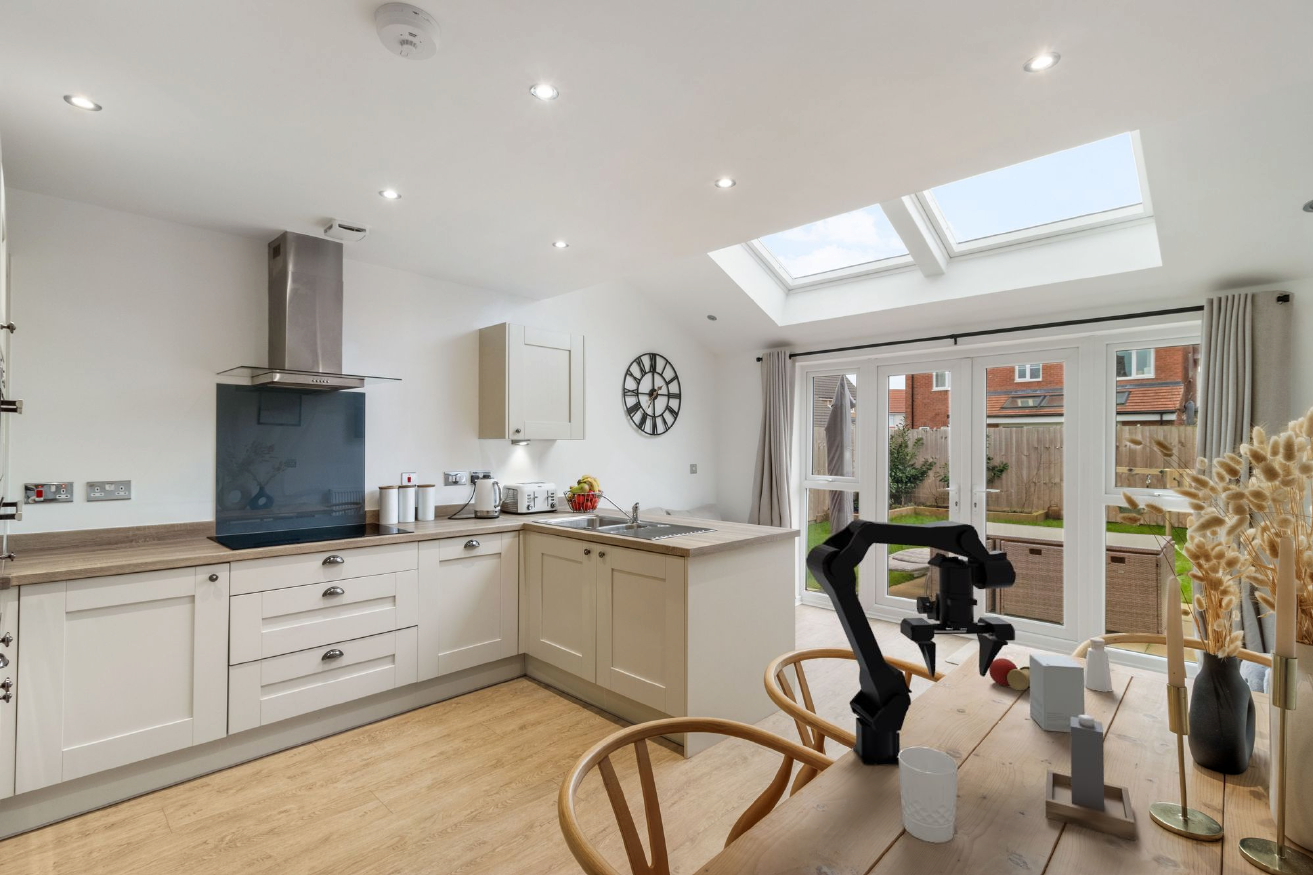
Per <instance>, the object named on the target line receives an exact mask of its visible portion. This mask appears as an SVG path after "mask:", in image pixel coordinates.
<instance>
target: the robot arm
mask: <svg viewBox="0 0 1313 875" xmlns="http://www.w3.org/2000/svg"><path fill="white" fill-rule="evenodd" d="M874 544H881V545H884V544H885V545H898V546H909V547H910V546H913V547H927V548H932V549H935V550H940V551H943V552H946V553H951V554H952V555H955V556H947V555H946V554H944V553H940V552H936V554H935V555H934V556H933V557H931V558H930V559H928V561H927V565H928V566H932V567H935V568H938V592H936V593H935V600H931V599H930V597H929V596H927V595H926V596H917V597H916V610H917V614H919V615H926V618H927V619H924V618H923V617H903V619H902V620H901V622H900V625H899V627H900V633H901V634H902V635H903V636H904V637H906V638H907V639H909V640H910V641H912V642H913V643H914V644H916V645H917V646H918V648H919V650H920V652H921V656H922V658H923V660H924V663H925V666H926V669H927V671H928V674H929V676H930V677H931V678H935V677H936V676H935V675H936V664H937V663H936V658H937V655H936V653H937V643H936V642H935V641H933V639H934V638H935V635H972V634H973V635H976V638H977V640H978V644H979V645H978V646H979V652H978V653H979V656H978V671H979V676H981V677H986V675H987V673H988V671H989V668H990V666H991V664H992V662H993V661H994V660H996V659H995V658H996V657H997V656H998V654H999V653H1000V651H1001V650H1002V648H1003V647H1004V646H1008V645H1009V642H1010V641H1013V642H1014V641H1016V629H1015V627H1014V626H1013V624H1012V623H1011V622H1008V621H1007V620H1005V619H1002V618H1000V617H998V616H987V617H986V616H985V617H983V616H982V617H981V616H980V617H979V618H978V619H977V622H976V621H975V613H974V612H975V611H974V610H975V609H974V608H975V606H978V599H976V598H975V597H974V588H976V589H978V590H991V589H992V590H995V589H1009V588H1012V586H1013V585H1014V584H1015V583H1016V578H1017V573H1016V571H1015V568H1014V566H1013V563H1012V562H1011V561H1010V560H1009V559H1008V553H1007V551H1003V550H992V551H989V550H987V548H986V546H985V545H984V543H983V542H982V541H981V540H980V536H979V532H978V530H977V529H976V528H975V526H973V525H971V524H968V523H963V522H957V521H953V520H935V521H930V522H927V523H920V524H916V523H915V524H913V523H901V522H888V521H885V522H884V521H871V520H865V519H860V518H856V519H854V520H852V521H850V522H849V523H848V524H847V525H846V526H845V527H844V528H842V529H841V530H839V531H837V532H835V533H833V534H832V535H830V536H828V538H826V539H825V540H824V541H823V542H822V543H821V544H817V545H815V546H814V547H813V548H811V549H810V550H809V552H808V554H807V556H806V559H805V561H806V566H807V569H808V570H809V572H810V574H811V575H812V577H813V578H814V580H815V581H816V583H817V584H818V585H819V587H821V589H822V590H823V591H824V592H825V593H826V595H827V596H828V597H829V599H830V601H831V603H832V606H833V608H834V610H835V613H836V615H837V617H838V619H839V622H840V624H841V627H842V629H843V632H844V634H845V636H846V638H847V641H848V643H849V645H850V648H851V650H852V652H853V654H854V657H855V660H856V662H857V664H858V667H859V675H858V681H859V686H860V690H858V692H857V693H856V694H855V695H854V697H852V699H851V700H850V701H849V702H848V703H849V706H850V709H851V712H852V713H853V714H854V715H855V716H857V717H855V744H853V745H852V749H853V750H854V752H855V753H856V755H857V756H858V758H859V759H860V761H861V762H862V764H863V765H865V766H881V765H882V766H885V765H887V766H888V765H891V766H893V765H894V766H896V765H897V766H899V759H898V754H899V752H900V751H901V750H900V748H901V743H900V740H901V739H900V732H901V731H902V729H903V725H904V722H905V719H906V716H907V712H908V711H909V708H910V706H911V705H912V699H911V696H910V694H912V693H913V692H912V690H911V689H910V688H909V686H908V683H907V681H906V677H905V675H904V672H903V671H902V670H900V669H899V668H897V667H896V666H894V665H892V664H891V663H889V662H888V661H886V660H885V658H884V656H883V652H882V651H881V648H880V646H879V643H878V641H877V638H876V637H875V634H874V632H873V630H872V627H871V624H870V623H869V620H868V618H867V615H866V613H865V611H864V609H863V606H862V604H861V601H860V599H859V597H858V594H857V579H858V578H857V574H856V569H855V568H856V567H857V566H858V565H860V564H861V563H862V561H863V560H864V558H865V557H866V555H867V553H868V550H869V549H870V547H872V545H874ZM963 557H964V558H967V560H964V559H963ZM927 620H933V621H935V622H937V623H935V622H934V623H930V622H929V621H927ZM938 622H939V623H938Z"/></svg>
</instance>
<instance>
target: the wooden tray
mask: <svg viewBox="0 0 1313 875" xmlns="http://www.w3.org/2000/svg"><path fill="white" fill-rule="evenodd" d="M1045 779H1046V782H1045V818H1049V819H1052V820H1056V821H1060V822H1062V823H1067V824H1071V825H1074V826H1079V827H1082V828H1085V829H1090V830H1093V831H1097V832H1101V833H1105V834H1108V835H1112V836H1115V837H1118V838H1119V837H1120V838H1123V839H1127V840H1130V841H1136V829H1135V828H1136V822H1135V818H1134V813H1133V807H1132V803H1131V797H1130V793H1129V787H1127V786H1122V785H1119V784H1114V783H1111V782H1110V783H1109V782H1106V781H1104V812H1101V811H1097V810H1093V809H1089V808H1085V807H1081V806H1077V805H1073V804H1072V795H1071V773H1067V772H1066V773H1065V772H1061V771H1057V770H1055V769H1054V770H1053V769H1049V768H1046V778H1045Z"/></svg>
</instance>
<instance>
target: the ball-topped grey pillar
mask: <svg viewBox="0 0 1313 875" xmlns="http://www.w3.org/2000/svg"><path fill="white" fill-rule="evenodd" d="M1078 717H1079V718H1077V717H1071V732H1070V772H1071V773H1070V774H1071V795H1072V804H1073V805H1077V806H1081V807H1085V808H1089V809H1093V810H1097V811H1101V812H1104V782H1105V773H1104V772H1105V769H1104V768H1105V764H1104V763H1105V762H1104V760H1105V759H1104V758H1105V756H1104V751H1105V750H1104V748H1105V746H1104V729H1103V728H1104V726H1103V722H1102V721H1098V720H1097V721H1096V720H1095V718H1094V717H1093V716H1091V715H1087V714H1085V715H1079V716H1078Z"/></svg>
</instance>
